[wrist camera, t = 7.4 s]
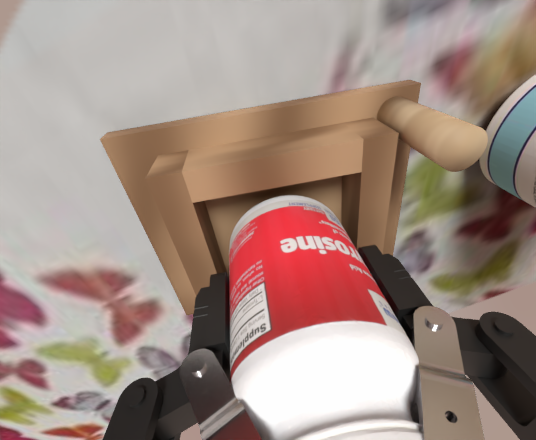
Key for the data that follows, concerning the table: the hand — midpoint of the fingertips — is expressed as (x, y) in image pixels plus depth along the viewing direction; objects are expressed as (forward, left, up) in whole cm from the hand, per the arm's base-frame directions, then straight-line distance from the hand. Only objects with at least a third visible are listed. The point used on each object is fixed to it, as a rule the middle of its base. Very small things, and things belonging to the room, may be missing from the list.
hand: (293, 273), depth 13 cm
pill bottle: (0, 0, -3) cm, 3 cm away
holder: (0, 0, -5) cm, 5 cm away
